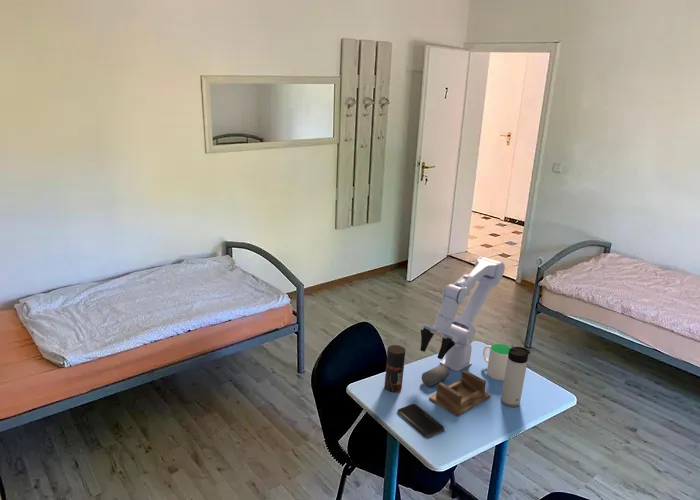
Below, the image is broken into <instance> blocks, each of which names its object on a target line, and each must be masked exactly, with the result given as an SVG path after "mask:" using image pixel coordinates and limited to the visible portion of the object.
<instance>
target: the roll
mask: <svg viewBox="0 0 700 500" xmlns="http://www.w3.org/2000/svg"><path fill="white" fill-rule="evenodd" d="M449 370H450V369H449V367H447V366H445V365H443V364H439V365H437V366H435V367H432V368H431V369H429V370H426V371H425V372H423V373H422V374H421V380H422V383H423V385H424V386H425V387H432V386H433V385H435V384H439V383H441V382H442V381H443V380H445V379H447V378H448V377H449V376H450V372H449Z"/></svg>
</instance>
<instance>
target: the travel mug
mask: <svg viewBox="0 0 700 500" xmlns="http://www.w3.org/2000/svg"><path fill="white" fill-rule="evenodd" d="M530 354H531V350H530V349H527V348H525V347H523V346H513V347H512V348H510V350H509V354H508V359H507V365H506V371H505V377H504V380H503V382H502V390H501V396H500V402H501V403H502V404H503V405H505V406H507V407H510V408H517V407H518V406H520V404H521V399H522V393H523V387H524V383H525V376H526V371H527V365H528V359H529V355H530Z"/></svg>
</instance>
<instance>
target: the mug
mask: <svg viewBox="0 0 700 500" xmlns="http://www.w3.org/2000/svg"><path fill="white" fill-rule="evenodd" d="M510 348H512V347H511V346H510V345H508V344H505V343H498V342H497V343H493V344H491V345H490V344H488V345H486V346H485V347H484V348H483V351H482V357H483V359H484V361H485V362H486V364H487V369H486V374H487V376H489V377H490V378H492V379H494V380H498V381H504V377H505V371H506V365H507V359H508V354H509V350H510ZM488 349H489V356H488V354H487V351H488Z"/></svg>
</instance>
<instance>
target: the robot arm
mask: <svg viewBox="0 0 700 500" xmlns="http://www.w3.org/2000/svg"><path fill="white" fill-rule="evenodd" d="M505 265H506V264H505V262H503V261H499V260H496V259H492V258H488V257H485V256H483V255H480V256H479V257H477V259H476V261H475V264H474V268H473V269H472V270H471V271H470V272H469V273H468V274H463V275H461V277H460V278H458V279H457V280H456V281H455V282H454V283H450V284H447V285H446V286H445V288H443V291H442V297H441V304H440V307H439V310H438V312H437V315H436V318H435V321H434V323H433V325H432V326H431V325H429V324H427V323H424V322H422V325H421V329H420V336H421V339H420V341H421V342H420V351H421V352H424V353H425V352H426V351H427V348H428V346H429V343H430V342H431V339H432V338H433V337H434V335H435V334H436V335H437V336H440V337H442V338H441V339H442V340H441V345H440V348H439V351H438V354H437V359H439V360H440V361H439V363H440V365H445V366H446V367H447V368H448V369H449V370H452V371H454V372H459V371H461V370H463V369H464V368H467V367H468V366H470V365H472V362H471V357H472V349H473V348H472V347H473V346H472V342H473V340H474V336H475V334H476V327H475V326H474V324H473V322H474V320H475V319H476V317H477V315H478V314H479V312H480V311H481V309H482V307H483V304H484V303H485V302H486V299H487V297H488V296H489V294H490V292H491V290H492V288H493V287H496V286H498V285H499V283H500V281H501V279H502V278H503V276H504V274H505ZM476 282H478V285H477V286H476ZM475 287H476V288H475ZM474 288H475V290H474V291H473V293H472V295H471V297H470V298H469V299H468V302H467V304H466V306H465V307H464V309H463V311H462V313H461V314H460V315H459V316H456V314H457V312H458V310H459V307H460V305H461V304H463V303H464V301H466V298H467V297H468V293H470V291H472V290H473V289H474ZM438 332H439V333H438ZM440 333H441V334H440ZM444 357H445V358H444Z"/></svg>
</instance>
